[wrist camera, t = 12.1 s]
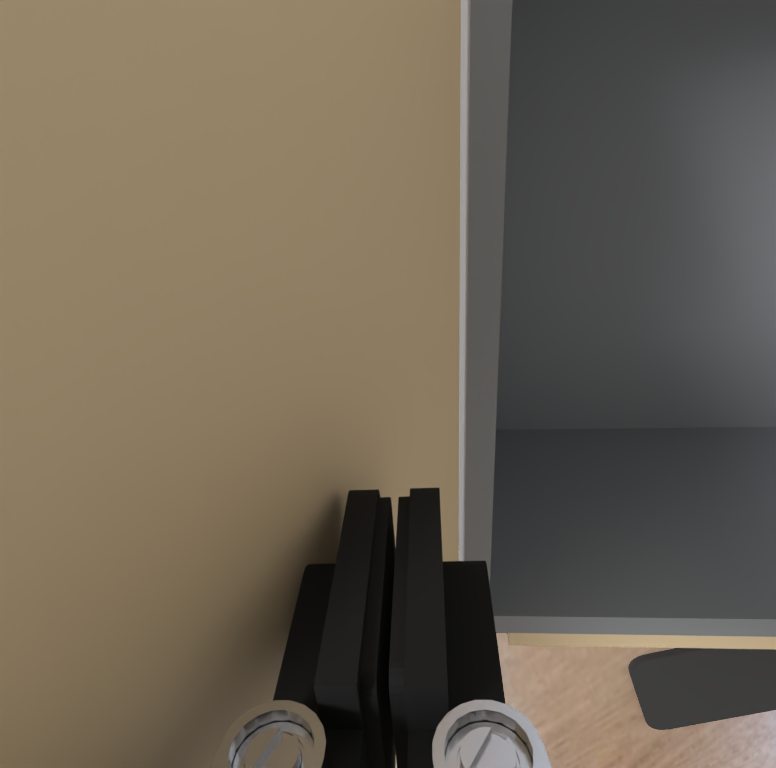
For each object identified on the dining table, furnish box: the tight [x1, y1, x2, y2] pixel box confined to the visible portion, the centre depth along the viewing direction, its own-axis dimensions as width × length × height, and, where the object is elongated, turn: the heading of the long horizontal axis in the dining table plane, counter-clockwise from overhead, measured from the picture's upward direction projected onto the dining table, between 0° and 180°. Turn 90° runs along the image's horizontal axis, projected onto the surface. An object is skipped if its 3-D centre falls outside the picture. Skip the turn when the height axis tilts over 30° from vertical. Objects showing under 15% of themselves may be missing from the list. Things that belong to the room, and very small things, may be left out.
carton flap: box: [0, 0, 461, 768], centre depth 11 cm, size 20×12×1 cm
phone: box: [629, 648, 776, 730], centre depth 38 cm, size 7×1×15 cm
